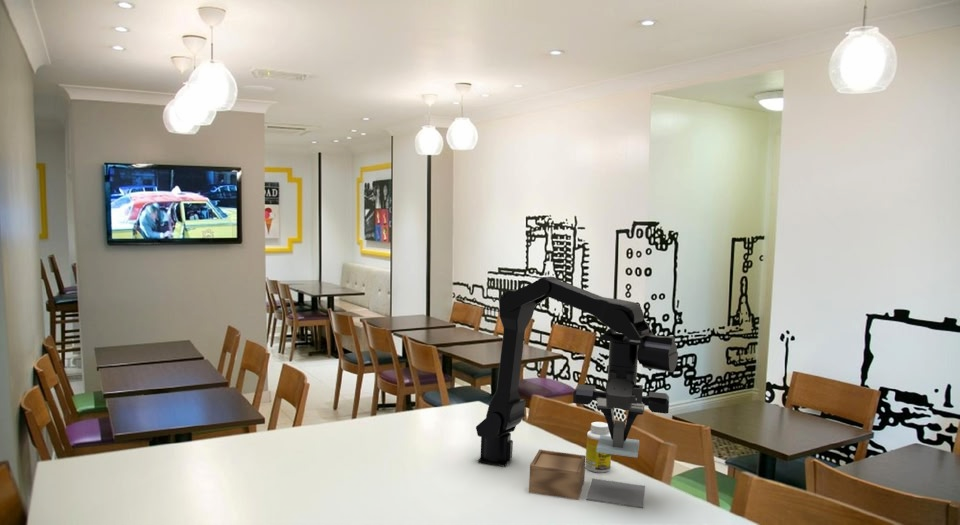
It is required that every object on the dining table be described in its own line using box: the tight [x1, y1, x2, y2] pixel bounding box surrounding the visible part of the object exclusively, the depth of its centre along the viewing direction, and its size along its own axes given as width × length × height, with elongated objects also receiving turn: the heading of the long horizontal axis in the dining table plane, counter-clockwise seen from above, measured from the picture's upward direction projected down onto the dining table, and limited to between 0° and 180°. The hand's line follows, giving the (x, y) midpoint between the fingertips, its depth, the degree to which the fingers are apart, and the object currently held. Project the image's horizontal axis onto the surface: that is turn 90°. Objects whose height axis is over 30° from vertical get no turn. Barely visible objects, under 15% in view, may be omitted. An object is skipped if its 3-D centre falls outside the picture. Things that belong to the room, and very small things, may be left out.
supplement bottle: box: [585, 421, 612, 474], centre depth 147 cm, size 6×6×10 cm
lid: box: [596, 419, 640, 458], centre depth 133 cm, size 8×8×5 cm
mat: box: [585, 478, 646, 509], centre depth 134 cm, size 11×11×1 cm
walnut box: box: [528, 449, 586, 500], centre depth 136 cm, size 10×10×6 cm
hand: (618, 439), depth 134 cm, fingers closed on lid
